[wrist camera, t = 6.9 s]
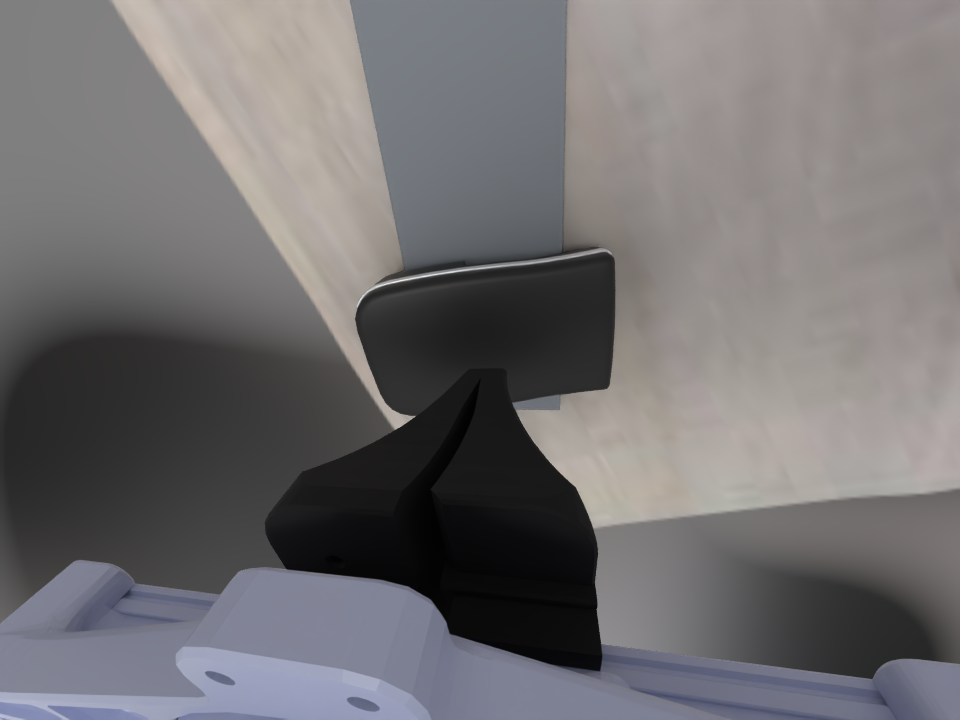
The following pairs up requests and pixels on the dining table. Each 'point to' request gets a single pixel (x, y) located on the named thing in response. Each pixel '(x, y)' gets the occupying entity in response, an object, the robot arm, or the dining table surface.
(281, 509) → the robot arm
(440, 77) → the mat
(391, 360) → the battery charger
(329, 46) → the dining table surface
